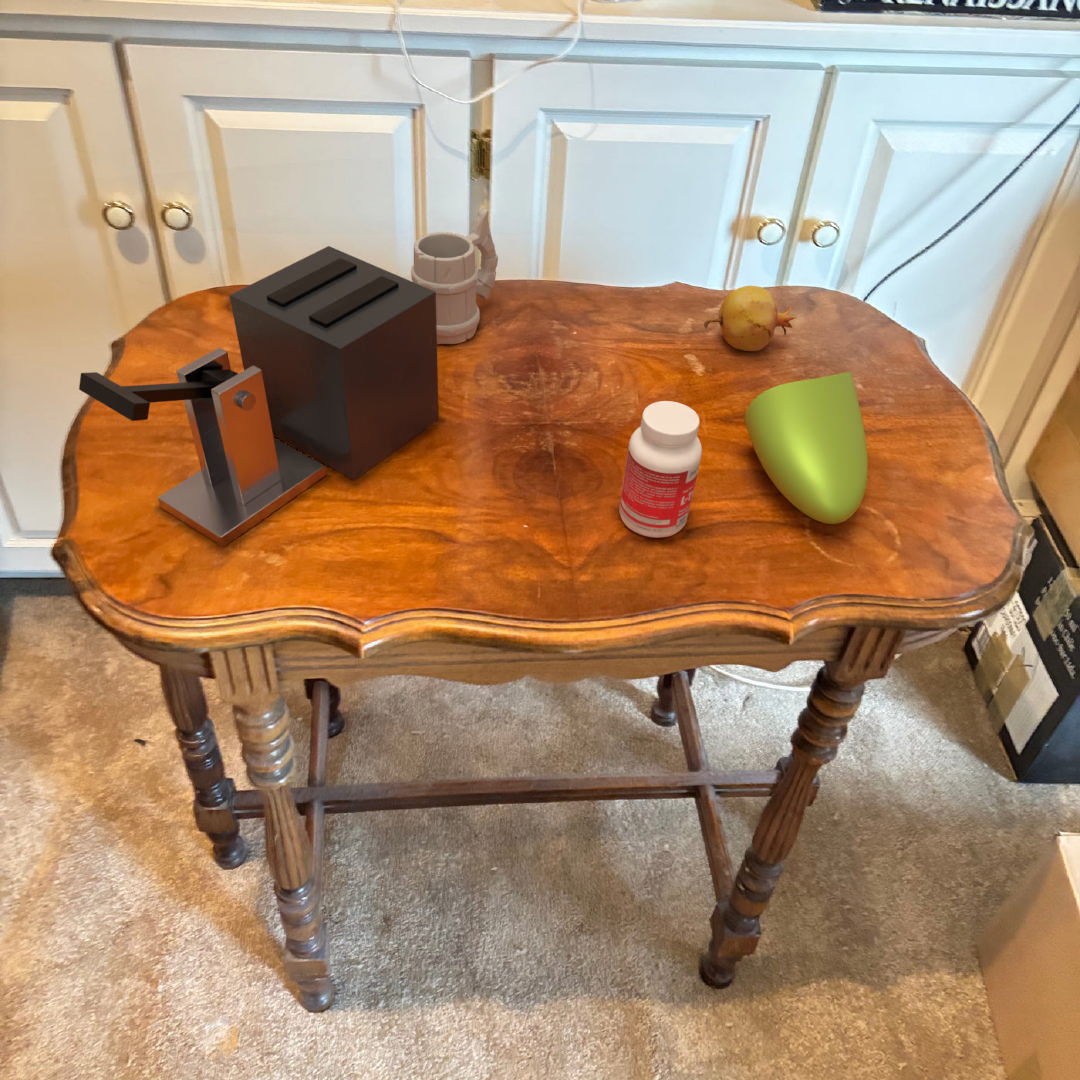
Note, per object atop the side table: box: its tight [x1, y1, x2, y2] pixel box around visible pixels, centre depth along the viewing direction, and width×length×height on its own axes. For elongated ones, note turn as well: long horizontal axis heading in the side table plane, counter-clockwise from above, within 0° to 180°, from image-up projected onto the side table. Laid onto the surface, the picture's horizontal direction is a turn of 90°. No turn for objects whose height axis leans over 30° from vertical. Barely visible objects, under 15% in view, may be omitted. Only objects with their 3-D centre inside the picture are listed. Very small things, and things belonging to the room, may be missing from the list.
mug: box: [410, 207, 499, 345], centre depth 102 cm, size 8×12×12 cm, turn 140°
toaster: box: [229, 245, 440, 482], centre depth 86 cm, size 12×13×14 cm
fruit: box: [703, 285, 797, 352], centre depth 104 cm, size 7×7×10 cm
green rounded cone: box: [743, 371, 869, 525], centre depth 87 cm, size 8×12×20 cm
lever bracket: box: [157, 347, 327, 548], centre depth 79 cm, size 12×8×13 cm, turn 145°
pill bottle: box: [618, 400, 703, 538], centre depth 80 cm, size 6×6×11 cm
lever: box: [78, 369, 239, 422], centre depth 72 cm, size 12×6×2 cm, turn 146°
